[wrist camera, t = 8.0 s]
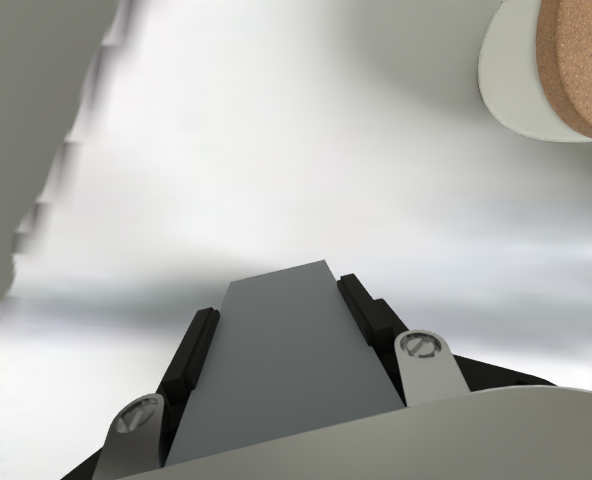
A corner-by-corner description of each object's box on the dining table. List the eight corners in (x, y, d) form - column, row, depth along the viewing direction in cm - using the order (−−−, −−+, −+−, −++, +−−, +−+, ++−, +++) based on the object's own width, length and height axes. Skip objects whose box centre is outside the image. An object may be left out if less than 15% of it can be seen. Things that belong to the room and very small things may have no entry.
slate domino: (331, 293, 15) (438, 528, 5) (241, 315, 15) (182, 595, 5) (324, 259, 14) (429, 452, 5) (230, 282, 14) (143, 525, 5)
